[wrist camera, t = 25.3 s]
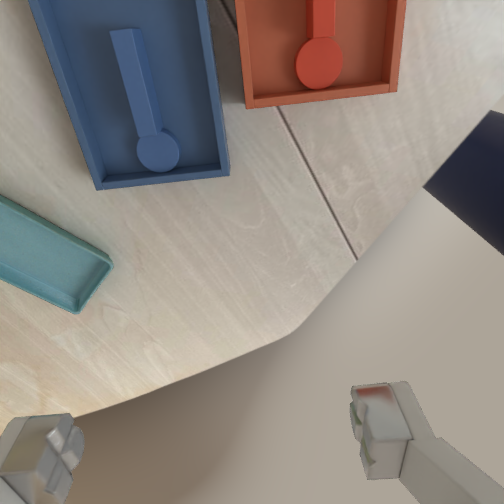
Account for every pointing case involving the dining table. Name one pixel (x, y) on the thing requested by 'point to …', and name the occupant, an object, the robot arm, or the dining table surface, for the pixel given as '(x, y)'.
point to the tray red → (294, 35)
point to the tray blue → (113, 91)
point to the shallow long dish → (48, 259)
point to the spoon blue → (144, 102)
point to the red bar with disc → (319, 47)
